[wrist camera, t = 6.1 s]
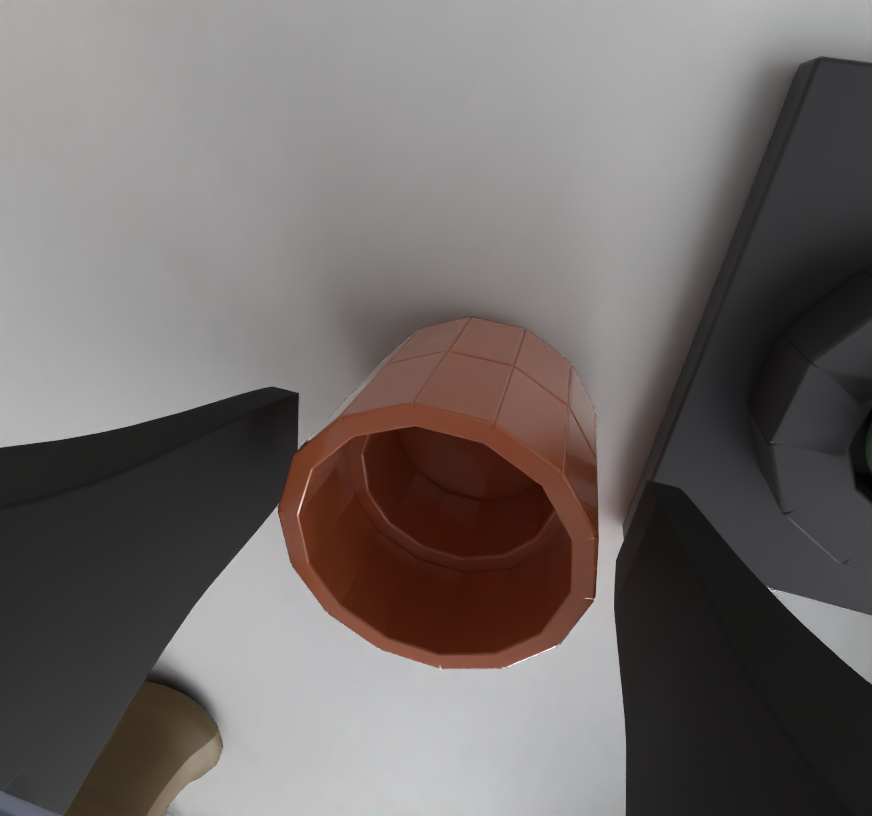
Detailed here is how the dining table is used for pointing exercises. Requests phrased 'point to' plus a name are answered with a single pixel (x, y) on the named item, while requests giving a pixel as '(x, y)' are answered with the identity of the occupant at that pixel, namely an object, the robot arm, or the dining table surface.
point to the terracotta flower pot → (453, 500)
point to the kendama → (149, 756)
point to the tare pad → (789, 357)
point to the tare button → (869, 448)
